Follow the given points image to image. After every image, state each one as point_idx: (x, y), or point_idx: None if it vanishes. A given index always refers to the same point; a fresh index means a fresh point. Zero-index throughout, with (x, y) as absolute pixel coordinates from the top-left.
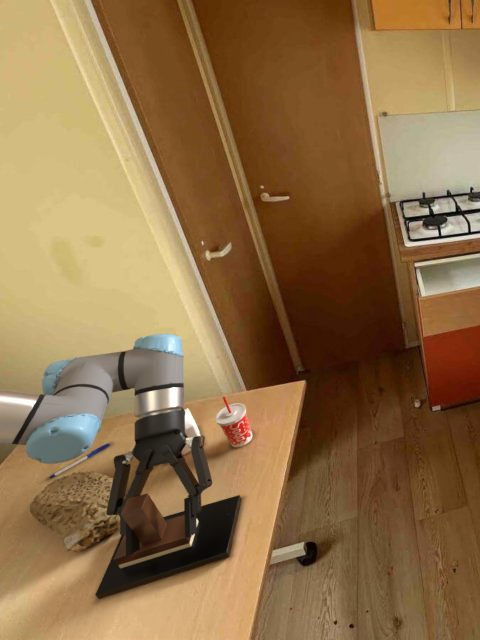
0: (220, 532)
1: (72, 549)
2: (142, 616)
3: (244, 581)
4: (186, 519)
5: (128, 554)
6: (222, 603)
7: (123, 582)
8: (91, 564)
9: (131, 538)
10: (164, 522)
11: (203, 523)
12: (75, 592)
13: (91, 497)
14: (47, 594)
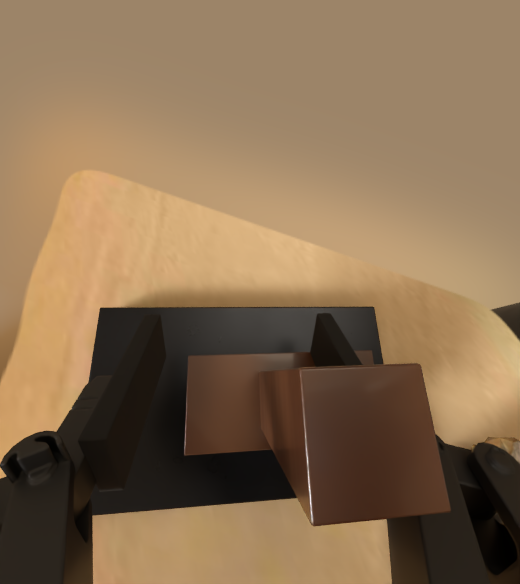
0: None
1: (505, 440)
2: (264, 249)
3: (72, 245)
4: (136, 355)
5: (324, 315)
6: (116, 219)
7: None
8: None
9: (332, 345)
10: (263, 425)
11: (176, 427)
12: (421, 343)
13: None
14: (475, 358)
